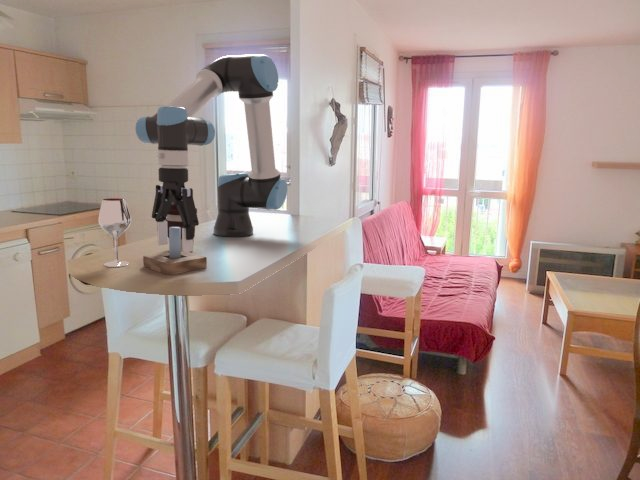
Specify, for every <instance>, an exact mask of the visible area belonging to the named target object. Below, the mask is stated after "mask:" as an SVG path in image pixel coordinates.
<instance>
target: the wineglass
mask: <svg viewBox="0 0 640 480" xmlns="http://www.w3.org/2000/svg"><path fill="white" fill-rule="evenodd" d="M98 213H99V214H98V225H99V226H100V227H101V228H102V230H103V231H104V232H106V233H107V234H108V235H110V237H112V238H113V243H114V260H113V261H108V262H105V263H104V264H103V266H105V267H108V268H121V267H126V266H129V265H130V262H129V261H125V260H119V249H118V248H119V247H118V241H119V240H118V239H119V237H120V236H121V235H122V234H123V233H125V232H126V230H128V228H129V227H130V225H131V223H132V216H131V212H130V209H129V206H128V203H127V200H126V199H125V198H120V197H119V198H118V197H117V198H116V197H113V198H102V200H101V204H100V208H99V212H98Z"/></svg>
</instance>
